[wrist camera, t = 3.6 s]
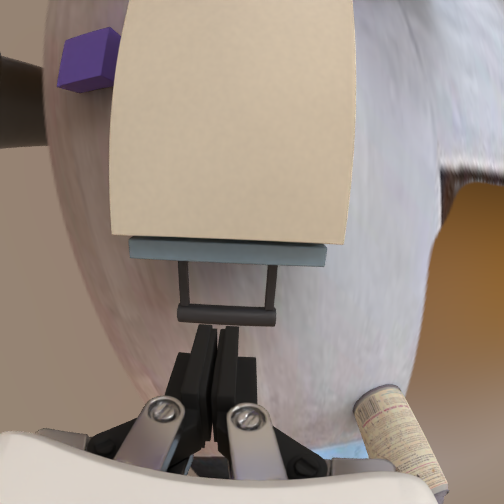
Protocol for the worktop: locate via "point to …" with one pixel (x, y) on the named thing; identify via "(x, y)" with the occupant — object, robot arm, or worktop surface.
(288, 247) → the drawer
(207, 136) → the cabinet
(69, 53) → the purple cube
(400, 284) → the worktop surface
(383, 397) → the aerosol can
